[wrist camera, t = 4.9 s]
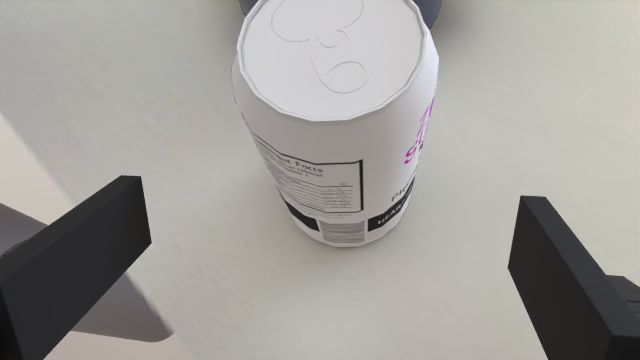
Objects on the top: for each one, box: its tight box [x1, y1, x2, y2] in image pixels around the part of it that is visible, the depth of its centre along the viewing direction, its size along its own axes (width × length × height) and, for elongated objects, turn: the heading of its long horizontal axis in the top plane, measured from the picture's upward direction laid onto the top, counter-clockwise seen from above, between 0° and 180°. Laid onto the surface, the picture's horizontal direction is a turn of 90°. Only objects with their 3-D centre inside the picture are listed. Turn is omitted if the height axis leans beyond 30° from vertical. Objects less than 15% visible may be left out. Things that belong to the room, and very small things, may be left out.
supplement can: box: [231, 0, 439, 247], centre depth 24 cm, size 8×8×15 cm
